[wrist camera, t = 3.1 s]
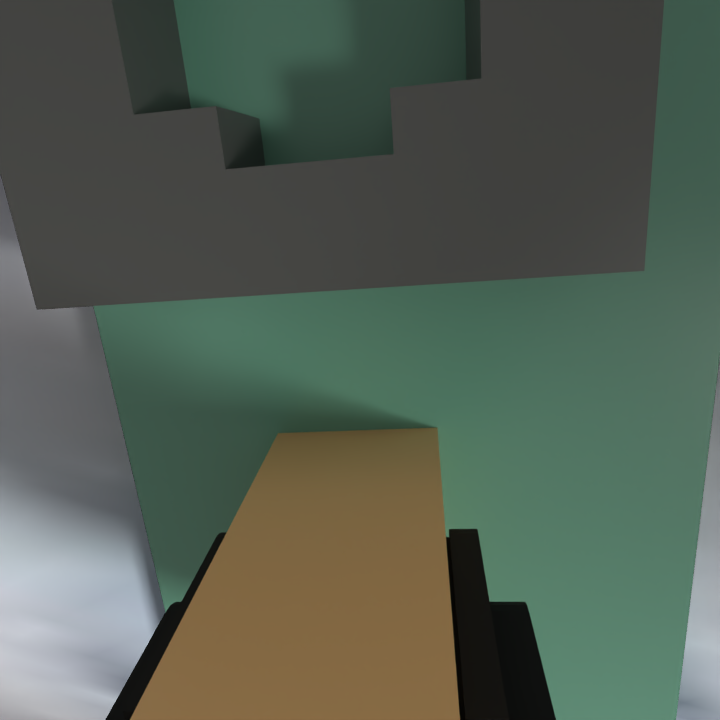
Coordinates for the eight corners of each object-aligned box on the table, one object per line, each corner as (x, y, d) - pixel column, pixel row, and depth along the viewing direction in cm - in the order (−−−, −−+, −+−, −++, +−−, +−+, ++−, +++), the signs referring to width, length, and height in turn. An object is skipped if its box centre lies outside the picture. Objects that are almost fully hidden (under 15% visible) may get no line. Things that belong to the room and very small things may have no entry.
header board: (803, -732, 8) (1111, -1444, 4) (654, 703, 16) (720, 853, 13) (-58, -519, 9) (-340, -924, 6) (208, 694, 18) (156, 826, 14)
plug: (437, 427, 13) (478, 963, 4) (446, 630, 14) (488, 1297, 6) (277, 432, 13) (20, 931, 5) (305, 629, 15) (156, 1251, 6)
